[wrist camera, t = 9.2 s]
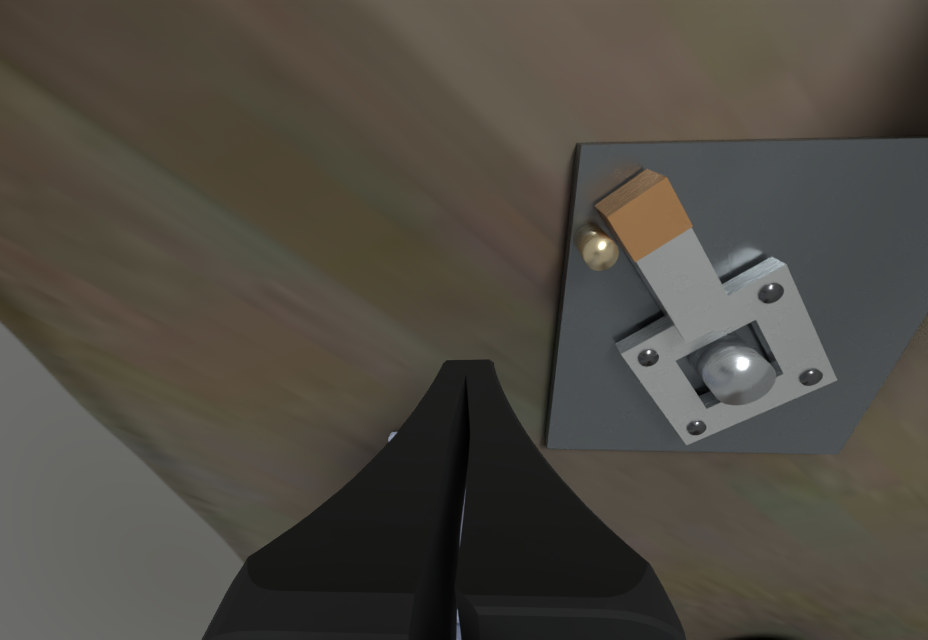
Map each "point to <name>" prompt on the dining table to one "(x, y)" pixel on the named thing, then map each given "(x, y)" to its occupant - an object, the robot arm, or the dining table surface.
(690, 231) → the silver flat metal piece
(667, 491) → the dining table surface
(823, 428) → the base plate
